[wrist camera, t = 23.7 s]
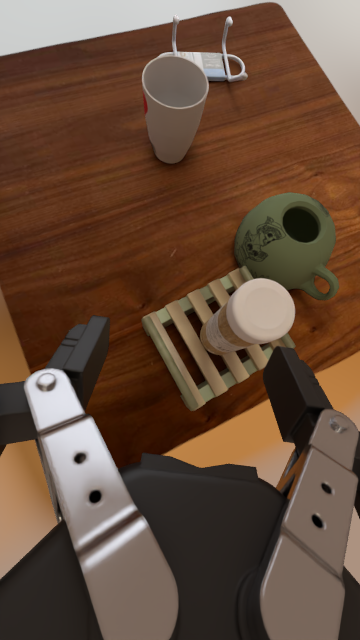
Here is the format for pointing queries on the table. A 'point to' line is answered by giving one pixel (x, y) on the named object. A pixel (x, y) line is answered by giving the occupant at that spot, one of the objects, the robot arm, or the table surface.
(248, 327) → the sprinkles bottle
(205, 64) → the wall mount rack
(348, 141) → the table surface
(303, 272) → the olive green ceramic pot
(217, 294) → the drying rack
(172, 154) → the cup
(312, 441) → the robot arm
